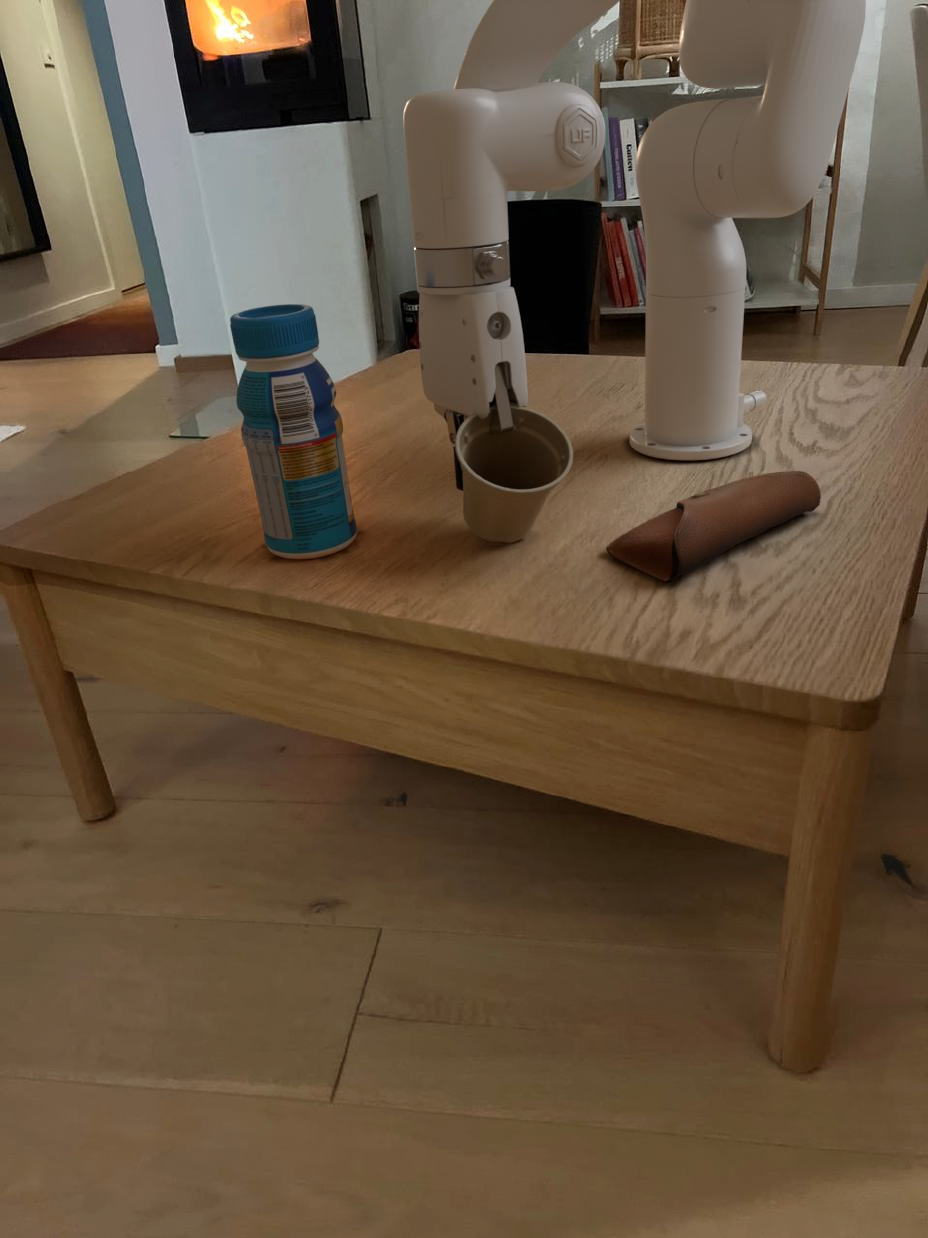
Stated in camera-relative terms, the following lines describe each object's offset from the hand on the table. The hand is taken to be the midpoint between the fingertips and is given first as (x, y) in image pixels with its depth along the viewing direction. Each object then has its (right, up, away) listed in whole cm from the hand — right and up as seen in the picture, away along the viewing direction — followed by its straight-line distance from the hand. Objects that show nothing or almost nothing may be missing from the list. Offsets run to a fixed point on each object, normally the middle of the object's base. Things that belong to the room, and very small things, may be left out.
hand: (476, 487), depth 80 cm
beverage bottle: (-15, -5, +1) cm, 16 cm away
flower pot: (+2, -3, -2) cm, 4 cm away
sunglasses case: (+20, -5, -6) cm, 21 cm away
